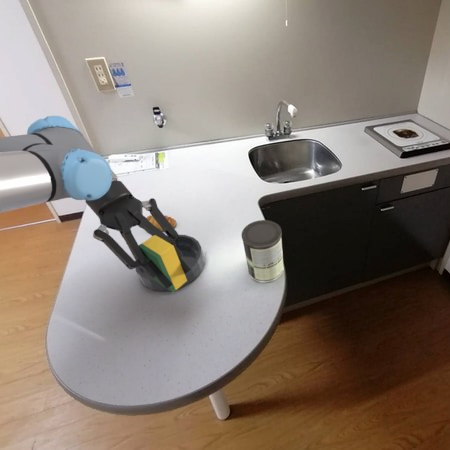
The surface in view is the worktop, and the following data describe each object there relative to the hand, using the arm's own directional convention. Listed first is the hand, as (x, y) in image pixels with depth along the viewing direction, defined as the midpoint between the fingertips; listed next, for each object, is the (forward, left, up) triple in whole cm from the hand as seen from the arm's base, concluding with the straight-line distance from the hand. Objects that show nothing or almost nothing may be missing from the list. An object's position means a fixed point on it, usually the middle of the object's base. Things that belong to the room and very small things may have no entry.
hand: (178, 278), depth 65 cm
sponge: (+1, +4, -3) cm, 5 cm away
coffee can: (+22, -8, -16) cm, 28 cm away
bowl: (+12, +17, -16) cm, 26 cm away
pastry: (+25, +34, -16) cm, 45 cm away
